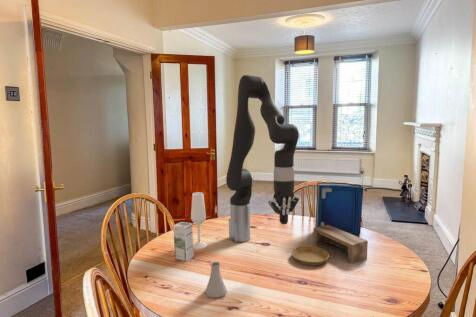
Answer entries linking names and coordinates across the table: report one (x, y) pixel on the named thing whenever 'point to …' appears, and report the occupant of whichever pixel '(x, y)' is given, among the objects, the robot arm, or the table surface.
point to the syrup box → (183, 241)
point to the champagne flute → (198, 215)
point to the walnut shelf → (342, 241)
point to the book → (339, 206)
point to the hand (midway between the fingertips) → (283, 223)
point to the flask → (215, 282)
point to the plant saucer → (310, 255)
